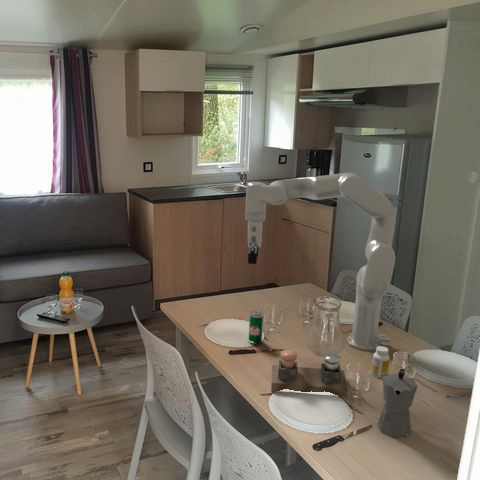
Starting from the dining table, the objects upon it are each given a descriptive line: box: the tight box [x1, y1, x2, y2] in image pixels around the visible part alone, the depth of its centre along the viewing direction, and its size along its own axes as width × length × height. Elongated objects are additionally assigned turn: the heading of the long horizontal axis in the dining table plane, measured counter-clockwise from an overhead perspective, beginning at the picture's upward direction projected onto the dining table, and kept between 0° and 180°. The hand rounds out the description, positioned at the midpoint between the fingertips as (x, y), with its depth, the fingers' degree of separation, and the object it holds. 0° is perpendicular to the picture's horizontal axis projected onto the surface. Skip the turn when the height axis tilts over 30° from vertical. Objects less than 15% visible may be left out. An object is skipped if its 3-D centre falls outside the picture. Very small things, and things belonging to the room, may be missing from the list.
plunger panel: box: [270, 359, 349, 398], centre depth 175 cm, size 24×12×6 cm, turn 86°
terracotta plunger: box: [280, 349, 298, 369], centre depth 174 cm, size 5×5×5 cm
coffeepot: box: [377, 368, 418, 438], centre depth 153 cm, size 15×9×18 cm, turn 159°
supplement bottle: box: [371, 345, 390, 379], centre depth 184 cm, size 5×5×10 cm
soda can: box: [248, 310, 264, 345], centre depth 204 cm, size 5×5×12 cm
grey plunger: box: [323, 352, 341, 372], centre depth 174 cm, size 5×5×5 cm
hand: (252, 259), depth 203 cm, fingers open, 9 cm apart
